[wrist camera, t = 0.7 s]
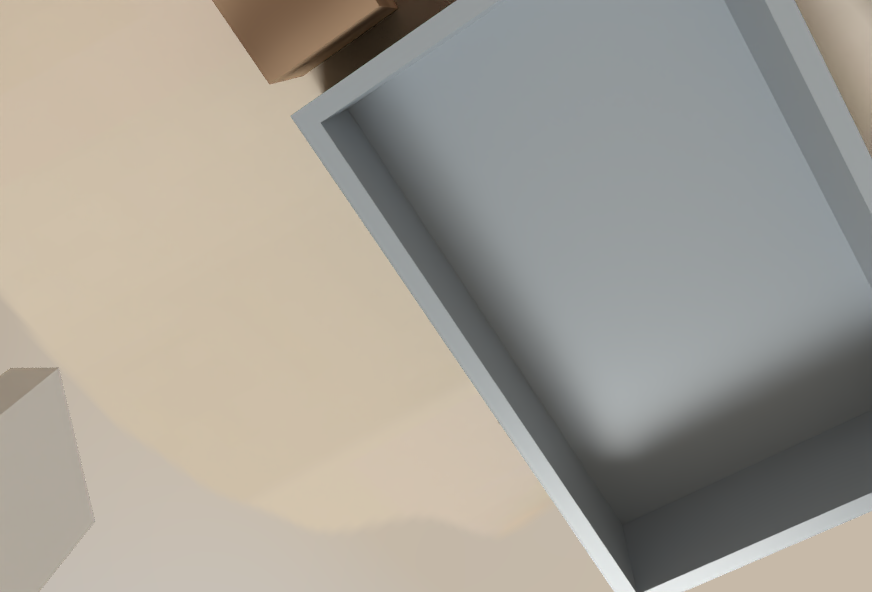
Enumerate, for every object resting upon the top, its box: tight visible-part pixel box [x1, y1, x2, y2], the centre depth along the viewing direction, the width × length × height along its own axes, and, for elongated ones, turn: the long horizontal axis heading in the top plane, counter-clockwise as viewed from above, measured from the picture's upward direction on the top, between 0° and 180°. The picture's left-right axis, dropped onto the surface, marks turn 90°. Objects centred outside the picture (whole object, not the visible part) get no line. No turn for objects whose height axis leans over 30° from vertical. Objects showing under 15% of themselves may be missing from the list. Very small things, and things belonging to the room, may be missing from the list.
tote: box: [291, 0, 872, 592], centre depth 32 cm, size 26×17×6 cm, turn 33°
